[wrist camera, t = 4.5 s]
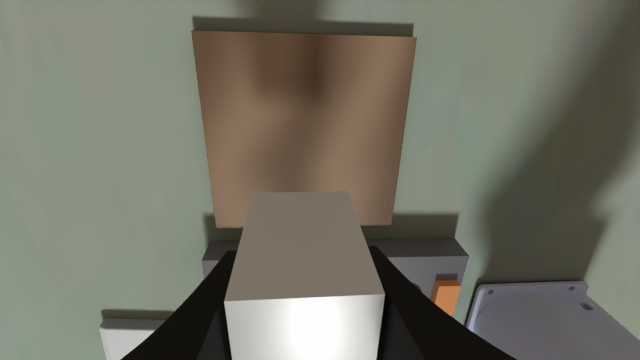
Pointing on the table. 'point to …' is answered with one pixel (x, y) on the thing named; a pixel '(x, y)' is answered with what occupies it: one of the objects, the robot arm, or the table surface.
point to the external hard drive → (125, 335)
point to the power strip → (400, 264)
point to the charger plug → (303, 281)
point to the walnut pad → (303, 117)
